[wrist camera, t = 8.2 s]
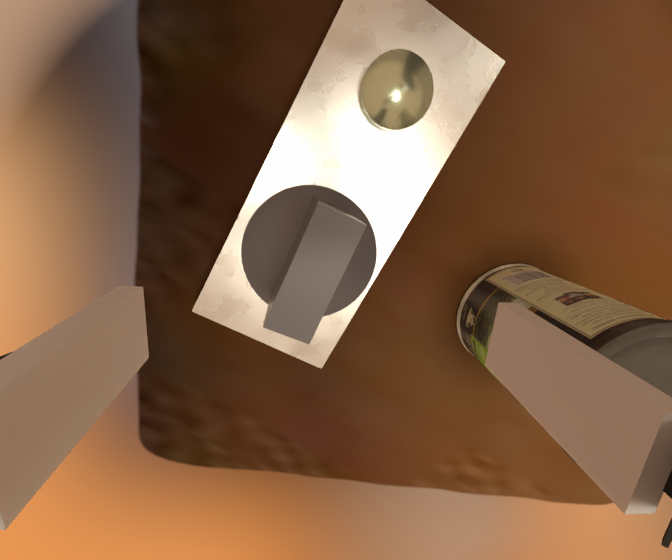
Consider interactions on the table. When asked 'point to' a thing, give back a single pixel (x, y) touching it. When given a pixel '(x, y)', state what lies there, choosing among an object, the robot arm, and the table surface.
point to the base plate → (361, 143)
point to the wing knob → (307, 257)
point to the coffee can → (570, 320)
